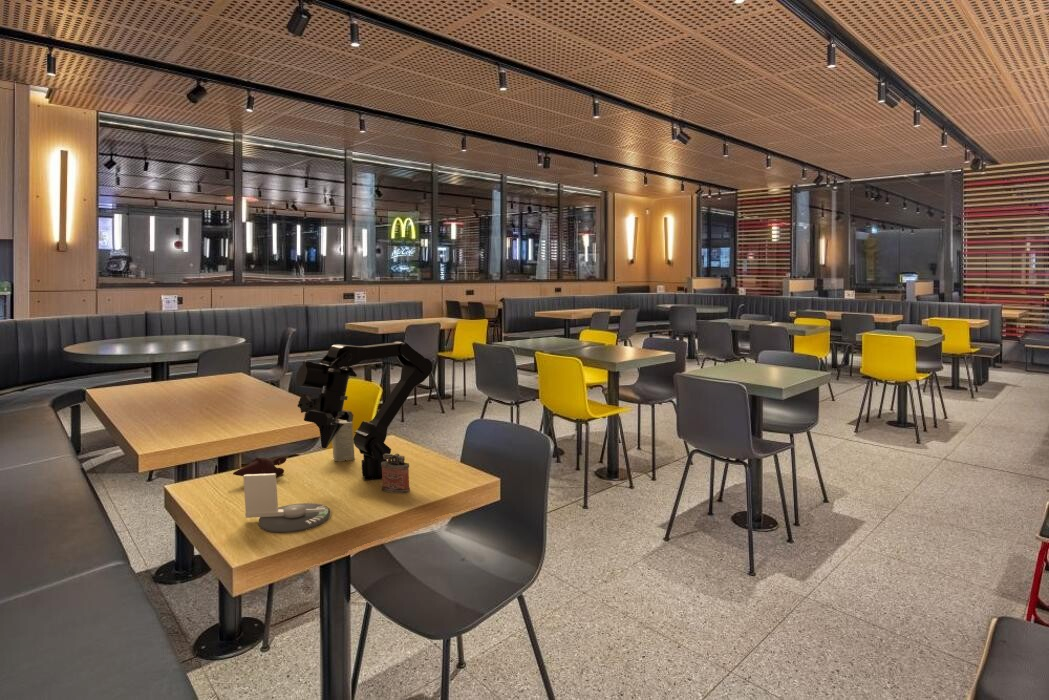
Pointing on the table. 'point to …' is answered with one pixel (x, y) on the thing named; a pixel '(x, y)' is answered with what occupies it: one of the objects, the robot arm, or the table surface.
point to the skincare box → (344, 442)
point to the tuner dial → (295, 520)
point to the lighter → (395, 474)
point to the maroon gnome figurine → (262, 466)
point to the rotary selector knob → (268, 498)
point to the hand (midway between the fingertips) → (323, 448)
